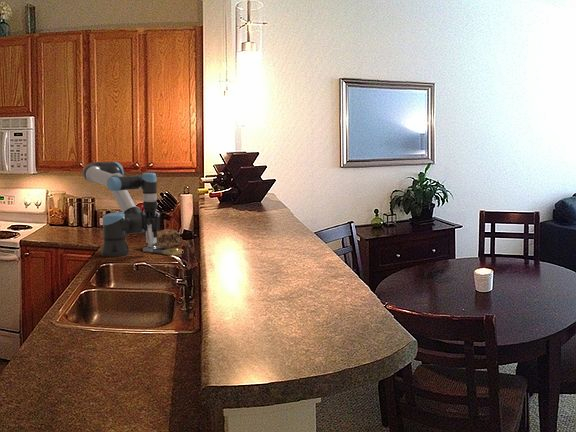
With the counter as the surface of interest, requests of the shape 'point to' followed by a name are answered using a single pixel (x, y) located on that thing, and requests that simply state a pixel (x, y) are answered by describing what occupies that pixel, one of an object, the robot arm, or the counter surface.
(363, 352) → the counter surface
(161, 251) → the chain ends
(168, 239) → the bread
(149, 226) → the pin
